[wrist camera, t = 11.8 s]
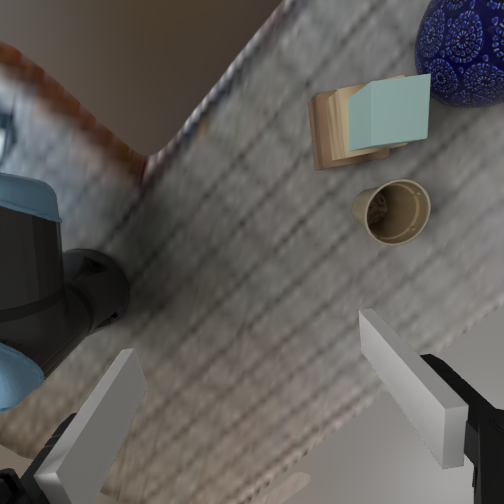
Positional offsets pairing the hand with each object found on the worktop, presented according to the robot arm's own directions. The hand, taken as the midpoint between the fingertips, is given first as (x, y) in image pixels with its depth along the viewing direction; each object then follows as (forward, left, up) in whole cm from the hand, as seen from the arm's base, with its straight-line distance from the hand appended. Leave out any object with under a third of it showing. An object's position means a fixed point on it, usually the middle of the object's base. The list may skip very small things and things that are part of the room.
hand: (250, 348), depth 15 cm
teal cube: (+18, +13, -22) cm, 32 cm away
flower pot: (+22, +1, -32) cm, 39 cm away
